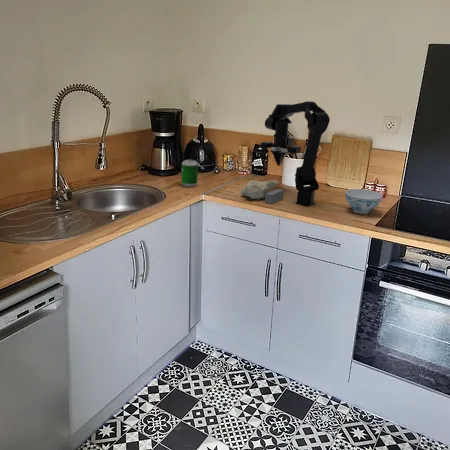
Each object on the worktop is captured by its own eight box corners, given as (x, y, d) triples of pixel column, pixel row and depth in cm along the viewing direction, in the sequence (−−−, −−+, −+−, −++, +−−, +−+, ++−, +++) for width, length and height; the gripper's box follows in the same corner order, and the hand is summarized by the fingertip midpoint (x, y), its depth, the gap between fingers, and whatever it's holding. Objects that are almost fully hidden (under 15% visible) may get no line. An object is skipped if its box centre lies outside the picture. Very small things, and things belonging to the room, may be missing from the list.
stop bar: (282, 198, 207) (283, 190, 206) (270, 204, 199) (271, 195, 198) (277, 197, 209) (277, 188, 208) (264, 202, 200) (265, 193, 199)
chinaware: (335, 207, 198) (338, 190, 196) (364, 204, 204) (366, 188, 201) (357, 218, 185) (360, 200, 183) (387, 215, 191) (390, 197, 188)
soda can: (200, 185, 224) (200, 160, 219) (191, 188, 217) (191, 163, 213) (187, 182, 227) (188, 158, 223) (178, 185, 221) (178, 161, 217)
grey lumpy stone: (237, 204, 203) (262, 188, 194) (233, 190, 206) (257, 173, 197) (259, 208, 214) (283, 193, 205) (255, 195, 217) (279, 179, 208)
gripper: (307, 133, 212) (304, 166, 218) (272, 128, 222) (270, 160, 227) (296, 135, 204) (293, 170, 209) (260, 130, 213) (258, 163, 219)
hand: (278, 165), depth 216 cm, fingers closed
